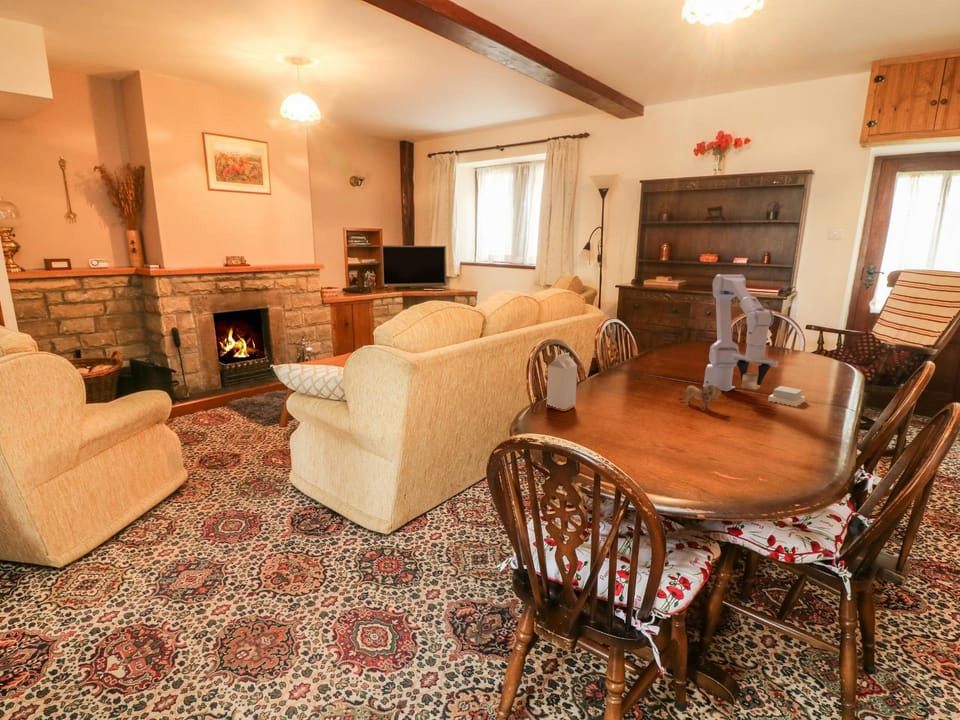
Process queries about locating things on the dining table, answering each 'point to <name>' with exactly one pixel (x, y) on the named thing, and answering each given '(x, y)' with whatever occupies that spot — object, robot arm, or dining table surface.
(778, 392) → the top slab
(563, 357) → the milk carton
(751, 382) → the birch block
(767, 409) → the dining table surface
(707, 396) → the lion figurine
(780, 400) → the bottom slab
